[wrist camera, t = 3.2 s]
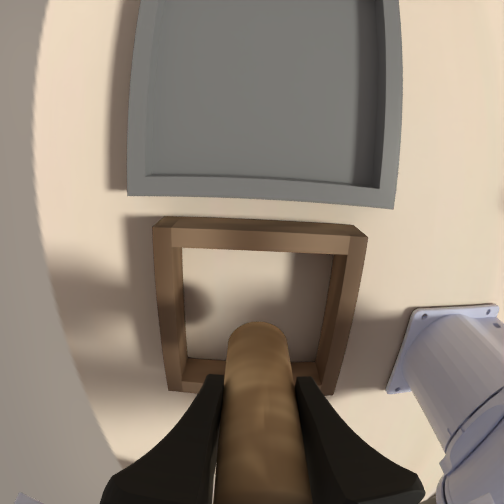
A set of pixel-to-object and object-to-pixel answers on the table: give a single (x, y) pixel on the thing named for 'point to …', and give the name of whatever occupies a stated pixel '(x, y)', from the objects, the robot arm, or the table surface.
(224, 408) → the pin
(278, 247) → the holder
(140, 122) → the tray
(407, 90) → the table surface
